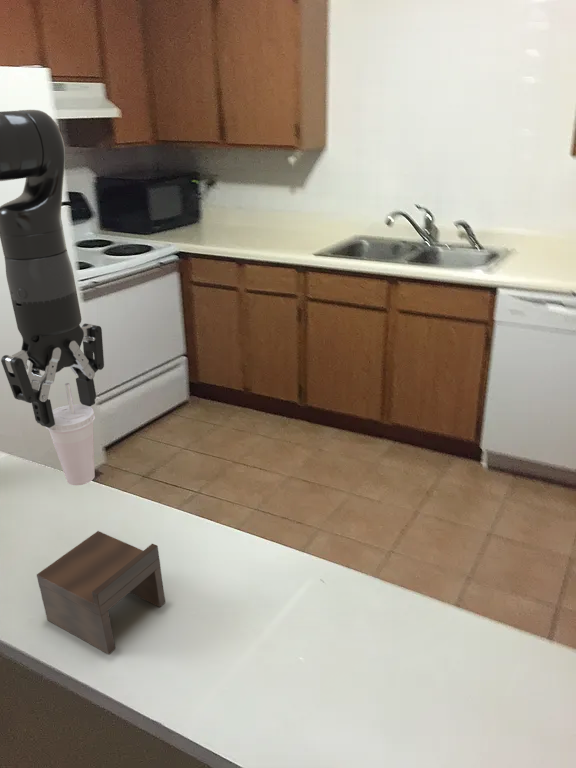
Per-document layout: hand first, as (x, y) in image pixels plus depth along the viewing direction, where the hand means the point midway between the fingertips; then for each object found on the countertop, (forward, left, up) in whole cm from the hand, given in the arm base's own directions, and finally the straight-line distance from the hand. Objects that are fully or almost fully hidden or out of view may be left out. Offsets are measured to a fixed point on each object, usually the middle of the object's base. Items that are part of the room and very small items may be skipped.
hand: (68, 414), depth 87 cm
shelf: (+5, -3, -28) cm, 29 cm away
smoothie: (0, 0, -10) cm, 10 cm away
